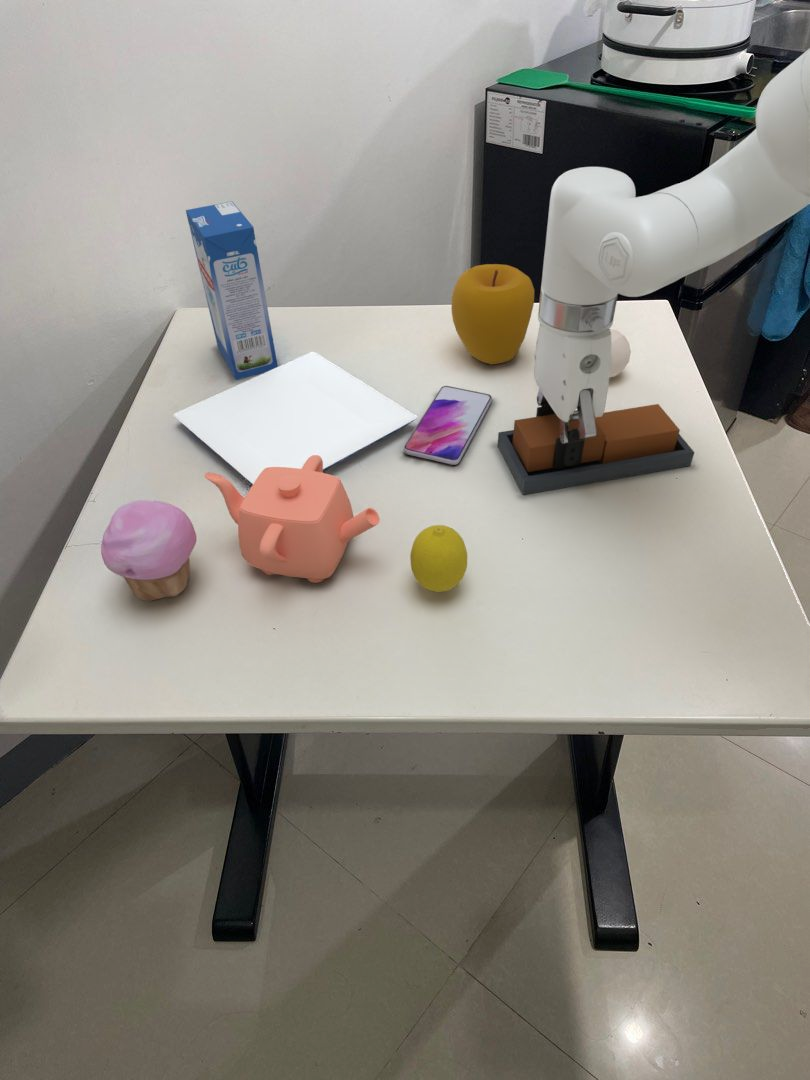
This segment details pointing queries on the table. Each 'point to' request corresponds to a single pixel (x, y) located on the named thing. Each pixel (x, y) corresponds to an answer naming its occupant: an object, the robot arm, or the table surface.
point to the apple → (492, 311)
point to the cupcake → (150, 548)
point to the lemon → (438, 558)
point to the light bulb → (618, 352)
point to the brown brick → (549, 441)
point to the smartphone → (448, 425)
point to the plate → (294, 417)
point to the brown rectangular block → (637, 433)
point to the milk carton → (233, 287)
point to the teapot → (294, 520)
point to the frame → (588, 467)
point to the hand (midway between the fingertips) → (556, 448)
